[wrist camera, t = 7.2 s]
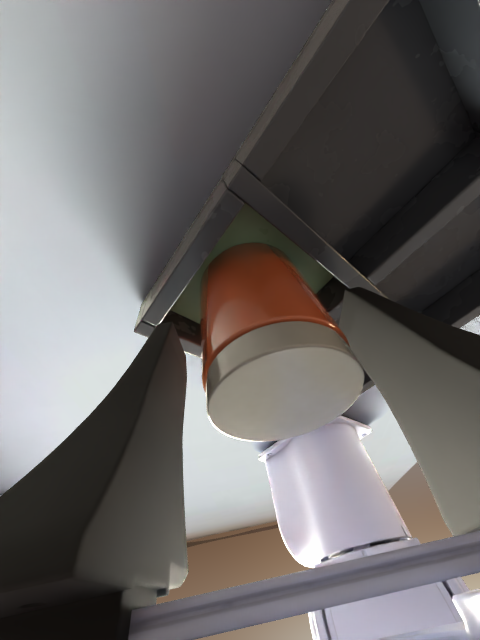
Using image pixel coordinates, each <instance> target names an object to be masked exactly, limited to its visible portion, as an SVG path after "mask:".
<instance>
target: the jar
mask: <svg viewBox="0 0 480 640" xmlns="http://www.w3.org/2000/svg"><path fill="white" fill-rule="evenodd" d="M199 295H200V327H201V359H202V384H203V388H204V390H205V393H206V408H207V414H208V417H209V419H210V421H211V423H212V424H213V426H214V427H215V428H216V429H218V430H219V431H220V432H222V433H223V434H225V435H227V436H230V437H232V438H236V439H239V440H245V441H255V442H265V441H277V440H283V439H288V438H292V437H296V436H300V435H303V434H306V433H308V432H311V431H313V430H316V429H318V428H320V427H322V426H324V425H326V424H328V423H330V422H331V421H333V420H334V419H336V418H337V417H339V416H340V415H341V414H343V413H344V412H345V411H346V410H347V409H348V408H349V407H350V406H351V405H352V404H353V403H354V402H355V400H356V399H357V398H358V396H359V394H360V393H361V390H362V388H363V384H364V371H363V367H362V365H361V363H360V361H359V360H358V358H357V357H356V355H355V354H354V353H353V351H352V350H351V348H350V345H349V341H348V339H347V337H346V335H345V334H344V332H343V331H342V330H341V328H340V327H339V325H338V324H337V323H336V321H335V320H334V319H333V317H332V316H331V314H330V313H329V312H328V310H327V309H326V307H325V306H324V305H323V303H322V302H321V300H320V299H319V298H318V296H317V295H316V294H315V292H314V291H313V289H312V288H311V287H310V285H309V284H308V282H307V281H306V280H305V278H304V277H303V276H302V274H301V273H300V271H299V270H298V269H297V267H296V266H295V264H294V263H293V262H292V260H291V259H290V258H289V257H288V256H287V255H286V254H285V253H284V252H283V251H281V250H280V249H278V248H276V247H274V246H271V245H268V244H264V243H244V244H240V245H236V246H233V247H231V248H229V249H227V250H225V251H223V252H222V253H220V254H219V255H218V256H216V257H215V258H214V259H213V260H212V261H211V262H210V264H209V265H208V266H207V268H206V269H205V271H204V273H203V275H202V278H201V282H200V288H199Z"/></svg>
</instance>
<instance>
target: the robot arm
mask: <svg viewBox="0 0 480 640" xmlns="http://www.w3.org/2000/svg"><path fill="white" fill-rule="evenodd" d="M339 327H340V328H341V330H342V331H343V332H344V334H345V335H346V337H347V339H348V341H349V345H350V348H351V350H352V351H353V353H354V354H355V355H356V357H357V358H358V360H359V361H360V363H361V365H362V367H363V368H364V369H365V371H366V372H367V374H368V375H369V377H370V378H371V379H372V381H373V382H374V384H375V385H376V386H377V388H378V389H379V391H380V392H381V394H382V396H383V397H384V399H385V400H386V402H387V404H388V406H389V408H390V409H391V411H392V413H393V415H394V416H395V418H396V420H397V422H398V424H399V426H400V428H401V430H402V432H403V433H404V435H405V437H406V439H407V441H408V443H409V445H410V447H411V449H412V451H413V453H414V455H415V457H416V459H417V462H418V463H419V466H420V468H421V470H422V472H423V474H424V476H425V479H426V481H427V483H428V485H429V488H430V490H431V492H432V494H433V497H434V499H435V501H436V504H437V506H438V508H439V511H440V513H441V516H442V518H443V520H444V522H445V524H446V525H447V527H448V528H449V530H450V532H451V533H452V535H453V536H454V537H450V538H445V539H442V540H437V541H433V542H428V543H424V544H420V542H419V540H418V538H412V536H411V535H410V532H409V530H408V528H407V527H406V525H405V523H404V521H403V519H402V517H401V515H400V513H399V512H398V510H397V508H396V506H395V504H394V502H393V500H392V498H391V496H390V494H389V493H388V491H387V489H386V487H385V485H384V483H383V481H382V479H381V477H380V476H379V474H378V472H377V470H376V468H375V466H374V464H373V462H372V460H371V459H370V457H369V455H368V453H367V451H366V449H365V447H364V445H363V443H362V441H361V440H360V439H361V438H363V437H364V436H366V435H368V434H370V433H371V432H372V429H371V427H370V426H367V425H364V424H362V423H359V422H357V421H354V420H351V419H349V418H346V417H344V416H341V415H340V416H339V417H337V418H336V419H334V420H333V421H331V422H330V423H328V424H326V425H324V426H322V427H320V428H318V429H316V430H313V431H311V432H308V433H306V434H303V435H300V436H296V437H292V438H288V439H283V440H279V441H278V442H276V443H275V444H273V445H272V446H270V447H269V448H268V449H266V450H265V451H263V452H262V453H260V454H259V455H258V457H259V460H261V461H265V464H266V469H267V474H268V479H269V483H270V488H271V493H272V498H273V502H274V507H275V512H276V517H277V521H278V526H279V529H280V533H281V536H282V538H283V540H284V543H285V545H286V546H287V548H288V550H289V552H290V553H291V555H292V556H293V557H294V558H295V559H296V560H297V561H298V562H299V563H301V564H302V565H304V566H307V567H314V569H310V570H306V571H301V572H297V573H292V574H288V575H284V576H279V577H275V578H270V579H266V580H262V581H257V582H253V583H248V584H244V585H240V586H235V587H231V588H227V589H222V590H218V591H213V592H209V593H205V594H201V595H196V596H192V597H187V598H183V599H178V600H174V601H170V602H165V603H161V604H157V605H156V598H157V597H162V596H166V595H168V594H169V589H173V588H177V587H180V586H181V585H182V583H183V581H184V579H185V578H186V576H187V574H188V559H187V543H186V529H185V510H184V488H183V451H182V436H183V420H184V408H185V396H186V383H187V369H186V355H185V353H184V350H183V348H182V345H181V342H180V340H179V337H178V335H177V332H176V329H175V327H174V324H173V322H168V323H162V324H157V326H156V327H155V329H154V330H153V332H152V333H151V335H150V336H149V338H148V340H147V341H146V343H145V344H144V346H143V347H142V349H141V350H140V352H139V353H138V355H137V356H136V358H135V359H134V361H133V362H132V364H131V365H130V366H129V368H128V369H127V371H126V372H125V373H124V375H123V376H122V377H121V378H120V380H119V381H118V382H117V384H116V385H115V386H114V388H113V389H112V390H111V391H110V393H109V394H108V395H107V396H106V397H105V398H104V400H103V401H102V402H101V403H100V404H99V405H98V406H97V407H96V409H95V410H94V411H93V412H92V413H91V414H90V415H89V416H88V417H87V418H86V419H85V420H84V421H83V422H82V423H81V424H80V425H79V426H78V427H77V428H76V429H75V430H74V431H73V432H72V433H71V434H70V435H69V436H68V437H67V438H66V439H65V440H64V441H63V442H62V443H61V444H60V445H59V446H58V447H57V448H56V449H55V450H54V451H53V452H51V453H50V454H49V455H48V456H47V457H46V458H45V459H44V460H43V461H42V462H40V463H39V464H38V465H37V466H36V467H35V468H34V469H32V470H31V471H30V472H29V473H28V474H27V475H26V476H24V477H23V478H22V479H21V480H20V481H18V482H17V483H16V484H15V485H14V486H13V487H11V488H10V489H9V490H8V491H6V492H5V493H4V494H3V495H1V496H0V640H194V639H198V638H203V637H207V636H211V635H215V634H219V633H224V632H228V631H233V630H237V629H241V628H245V627H250V626H254V625H258V624H262V623H267V622H271V621H275V620H279V619H284V618H288V617H292V616H296V615H301V614H305V613H309V619H310V625H311V630H312V635H313V640H480V588H479V589H475V590H471V591H470V590H469V588H468V587H467V586H466V584H465V582H464V581H463V579H462V578H461V577H462V576H466V575H471V574H475V573H479V572H480V335H477V334H474V333H471V332H468V331H465V330H462V329H459V328H456V327H454V326H451V325H448V324H446V323H443V322H441V321H438V320H435V319H433V318H430V317H428V316H426V315H423V314H421V313H418V312H416V311H414V310H412V309H409V308H407V307H405V306H403V305H400V304H398V303H396V302H394V301H392V300H389V299H387V298H385V297H383V296H381V295H378V294H376V293H374V292H372V291H369V290H367V289H365V288H362V287H355V288H350V289H345V294H344V299H343V305H342V311H341V316H340V322H339Z"/></svg>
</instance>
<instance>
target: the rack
mask: <svg viewBox="0 0 480 640" xmlns="http://www.w3.org/2000/svg"><path fill="white" fill-rule="evenodd" d="M244 243H264V244H268V245H271V246H274V247H276V248H278V249H280V250H281V251H283V252H284V253H285V254H286V255H287V256H288V257H289V258H290V259H291V260H292V262H293V263H294V264H295V266H296V267H297V269H298V270H299V271H300V273H301V274H302V276H303V277H304V278H305V280H306V281H307V282H308V284H309V285H310V287H311V288H312V289H313V291H314V292H315V294H316V295H317V296H318V298H319V299H320V300H321V302H322V303H323V305H324V306H325V307H326V309H327V310H328V312H329V313H330V314H331V316H332V317H333V319H334V320H335V321H336V323H337V324H338V325H339V322H340V316H341V311H342V305H343V299H344V294H345V289H350V288H355V287H362V288H365V289H367V290H369V291H372V292H374V293H376V294H378V295H381V296H383V297H385V298H387V299H389V300H392V301H394V302H396V303H398V304H400V305H403V306H405V307H407V308H409V309H412V310H414V311H416V312H418V313H421V314H423V315H426V316H428V317H430V318H433V319H435V320H438V321H441V322H443V323H446V324H448V325H451V326H454V327H456V328H461V327H462V326H464V325H465V324H467V323H468V322H470V321H471V320H473V319H474V318H476V317H477V316H479V315H480V0H332V2H331V4H330V5H329V7H328V8H327V10H326V11H325V13H324V15H323V16H322V18H321V19H320V21H319V23H318V24H317V26H316V27H315V29H314V31H313V32H312V34H311V35H310V37H309V39H308V40H307V42H306V43H305V45H304V46H303V48H302V50H301V51H300V53H299V54H298V56H297V58H296V59H295V61H294V62H293V64H292V66H291V67H290V69H289V70H288V72H287V74H286V75H285V77H284V78H283V80H282V81H281V83H280V85H279V86H278V88H277V89H276V91H275V93H274V94H273V96H272V97H271V99H270V101H269V102H268V104H267V105H266V107H265V109H264V110H263V112H262V113H261V115H260V117H259V118H258V120H257V121H256V123H255V124H254V126H253V128H252V129H251V131H250V132H249V134H248V136H247V137H246V139H245V140H244V142H243V144H242V145H241V147H240V148H239V150H238V152H237V153H236V155H235V156H234V158H233V159H232V161H231V163H230V164H229V166H228V167H227V169H226V171H225V172H224V174H223V175H222V177H221V179H220V180H219V182H218V183H217V185H216V187H215V188H214V190H213V191H212V193H211V194H210V196H209V198H208V199H207V201H206V202H205V204H204V206H203V207H202V209H201V210H200V212H199V214H198V215H197V217H196V218H195V220H194V222H193V223H192V225H191V226H190V228H189V229H188V231H187V233H186V234H185V236H184V237H183V239H182V241H181V242H180V244H179V245H178V247H177V249H176V250H175V252H174V253H173V255H172V257H171V258H170V260H169V261H168V263H167V264H166V266H165V268H164V269H163V271H162V272H161V274H160V276H159V277H158V279H157V280H156V282H155V284H154V285H153V287H152V288H151V290H150V292H149V293H148V295H147V296H146V298H145V299H144V301H143V303H142V304H141V307H140V311H139V315H138V318H137V322H136V325H135V328H134V332H135V333H138V334H140V335H143V336H145V337H148V338H149V336H150V335H151V333H152V332H153V330H154V329H155V327H156V326H157V324H162V323H168V322H173V324H174V327H175V329H176V332H177V335H178V337H179V340H180V342H181V345H182V348H183V350H184V352H186V353H189V354H191V355H194V356H196V357H199V358H201V327H200V295H199V288H200V282H201V278H202V275H203V273H204V271H205V269H206V268H207V266H208V265H209V264H210V262H211V261H212V260H213V259H214V258H215V257H216V256H218V255H219V254H220V253H222V252H223V251H225V250H227V249H229V248H231V247H233V246H236V245H240V244H244ZM363 371H364V384H363V388H362V390H361V393H360V394H362V393H363V392H365V391H366V390H368V389H369V388H371V387H372V386H374V385H375V384H374V382H373V381H372V379H371V378H370V377H369V375H368V374H367V372H366V371H365V369H364V368H363ZM360 394H359V395H360Z"/></svg>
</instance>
